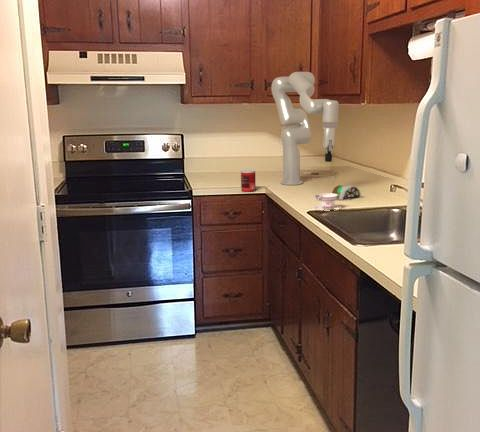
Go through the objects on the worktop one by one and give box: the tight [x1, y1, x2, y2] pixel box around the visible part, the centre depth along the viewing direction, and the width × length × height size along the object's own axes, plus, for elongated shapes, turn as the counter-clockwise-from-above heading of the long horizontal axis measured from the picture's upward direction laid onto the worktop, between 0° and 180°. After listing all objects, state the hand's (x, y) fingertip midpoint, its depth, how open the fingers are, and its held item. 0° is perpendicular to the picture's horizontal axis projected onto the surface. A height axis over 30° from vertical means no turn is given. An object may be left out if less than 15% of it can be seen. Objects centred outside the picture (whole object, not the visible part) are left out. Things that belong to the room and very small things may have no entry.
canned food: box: [240, 169, 257, 193], centre depth 287 cm, size 8×8×11 cm
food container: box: [331, 184, 362, 201], centre depth 265 cm, size 12×6×10 cm
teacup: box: [314, 192, 343, 212], centre depth 242 cm, size 12×12×6 cm
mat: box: [314, 194, 352, 201], centre depth 265 cm, size 12×16×1 cm
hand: (328, 161), depth 277 cm, fingers closed
